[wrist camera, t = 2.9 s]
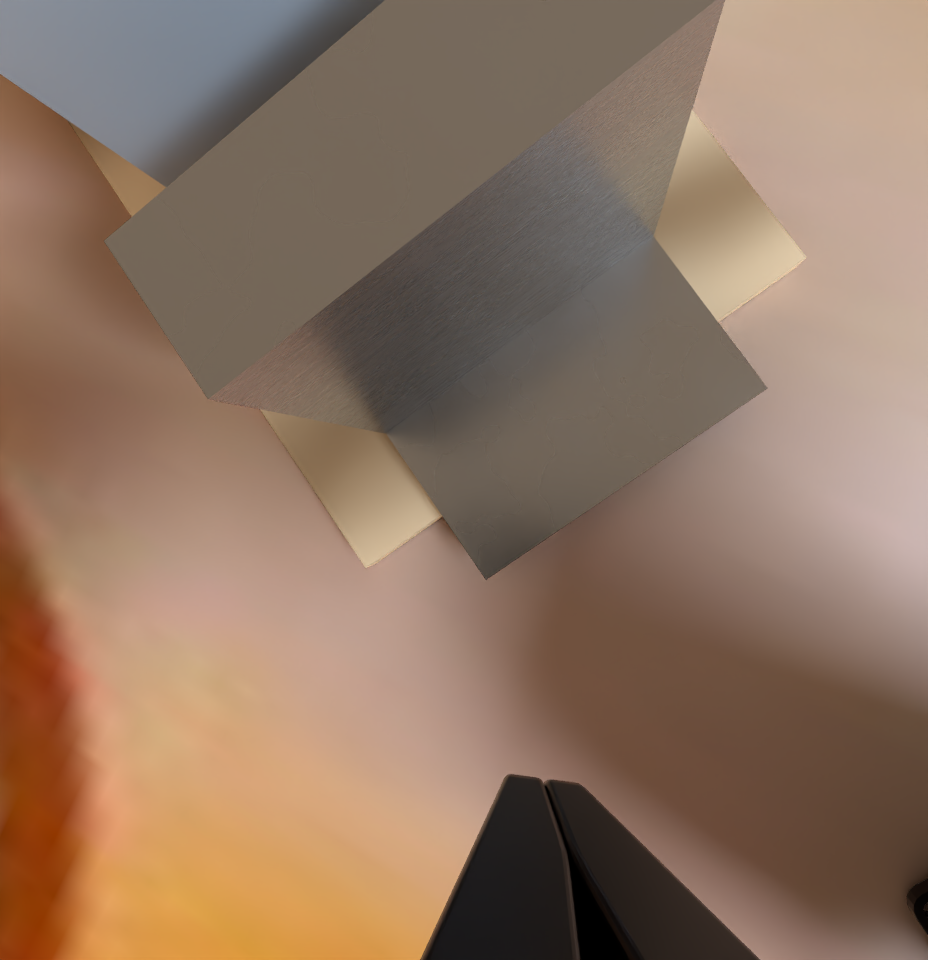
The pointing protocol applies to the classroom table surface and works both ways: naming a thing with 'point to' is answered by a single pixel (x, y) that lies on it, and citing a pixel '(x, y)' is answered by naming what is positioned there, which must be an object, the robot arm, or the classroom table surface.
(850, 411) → the classroom table surface
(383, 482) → the shelf
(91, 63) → the blue book
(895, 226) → the classroom table surface
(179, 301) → the bookend
